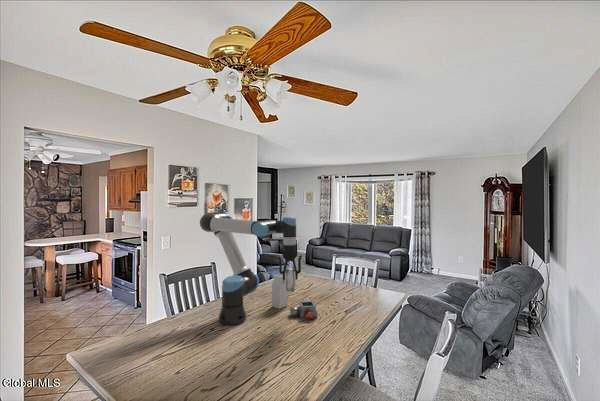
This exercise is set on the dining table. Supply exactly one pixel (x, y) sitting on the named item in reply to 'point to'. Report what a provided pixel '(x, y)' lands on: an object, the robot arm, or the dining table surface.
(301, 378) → the dining table surface
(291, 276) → the silver rounded cylinder
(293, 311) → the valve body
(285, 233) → the robot arm
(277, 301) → the milk carton
